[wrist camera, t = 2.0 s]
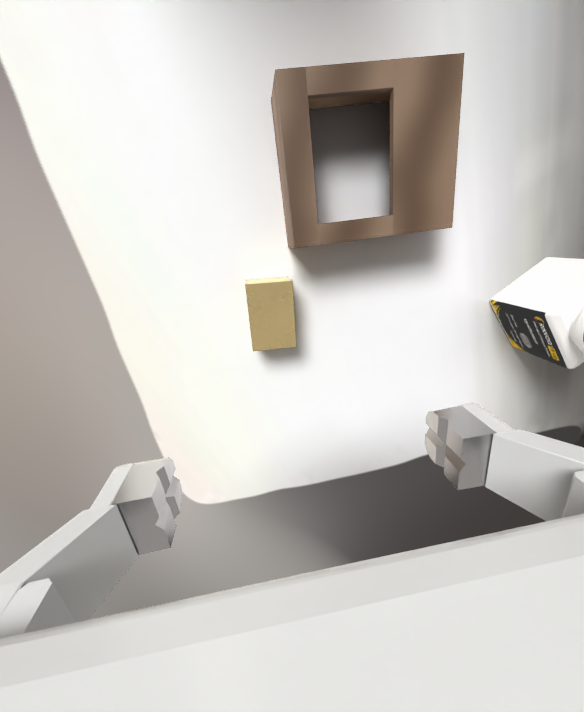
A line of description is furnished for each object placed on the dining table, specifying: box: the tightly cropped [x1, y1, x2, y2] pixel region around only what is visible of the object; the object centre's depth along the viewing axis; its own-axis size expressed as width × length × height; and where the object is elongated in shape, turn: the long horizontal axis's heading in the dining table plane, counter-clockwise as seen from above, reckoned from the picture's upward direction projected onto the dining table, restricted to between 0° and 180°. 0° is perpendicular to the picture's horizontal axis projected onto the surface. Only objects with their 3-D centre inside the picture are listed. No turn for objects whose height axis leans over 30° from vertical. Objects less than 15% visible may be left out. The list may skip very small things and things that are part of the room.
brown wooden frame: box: [271, 53, 464, 248], centre depth 24 cm, size 13×11×5 cm
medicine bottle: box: [490, 257, 584, 369], centre depth 27 cm, size 7×7×12 cm
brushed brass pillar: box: [245, 277, 296, 351], centre depth 28 cm, size 4×6×4 cm, turn 3°
